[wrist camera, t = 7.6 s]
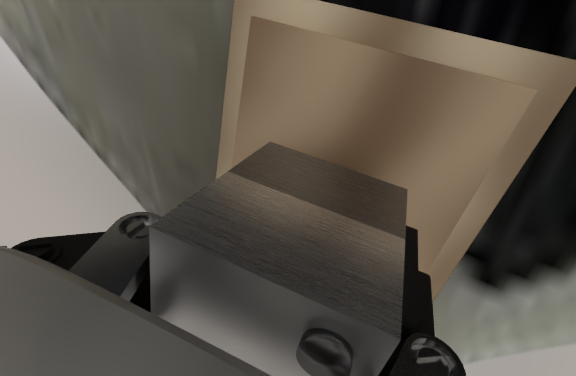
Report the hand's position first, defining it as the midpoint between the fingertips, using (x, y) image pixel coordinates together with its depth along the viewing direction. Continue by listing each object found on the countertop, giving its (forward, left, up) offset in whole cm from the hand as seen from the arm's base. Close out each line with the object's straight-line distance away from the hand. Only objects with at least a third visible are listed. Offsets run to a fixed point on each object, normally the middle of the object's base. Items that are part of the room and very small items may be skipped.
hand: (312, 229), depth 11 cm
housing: (0, 0, -1) cm, 1 cm away
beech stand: (0, 0, -6) cm, 6 cm away
